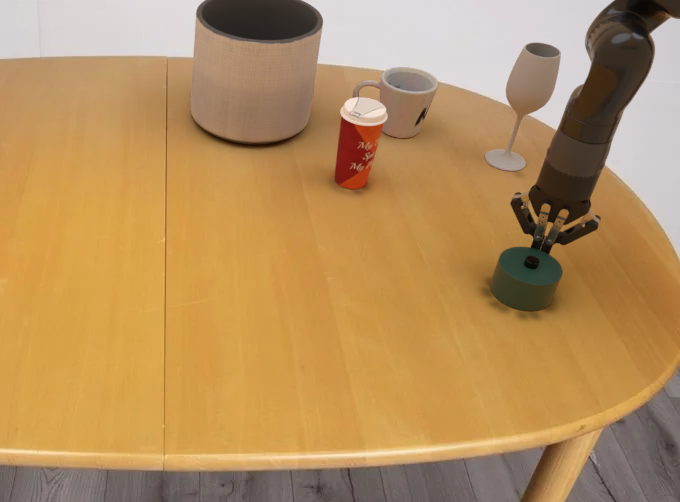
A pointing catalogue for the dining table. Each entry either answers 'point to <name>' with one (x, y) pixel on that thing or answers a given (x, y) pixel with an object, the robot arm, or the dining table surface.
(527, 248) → the tea tin
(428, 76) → the mug
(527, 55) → the wineglass
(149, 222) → the dining table surface
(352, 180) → the paper cup
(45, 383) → the dining table surface
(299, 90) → the planter
